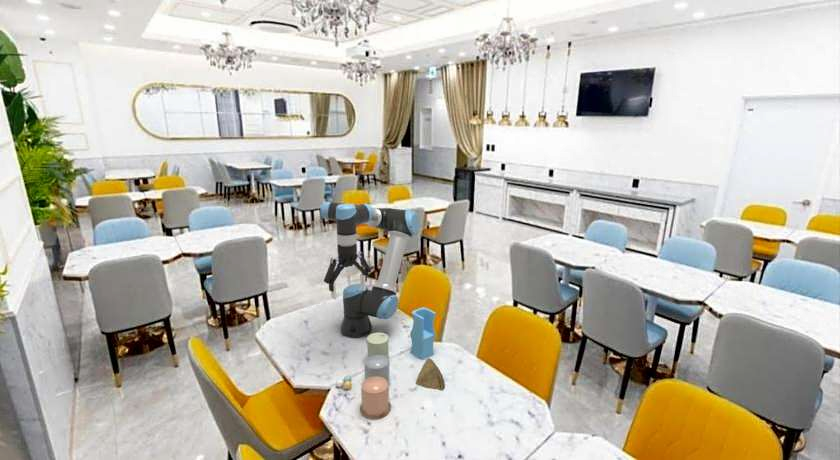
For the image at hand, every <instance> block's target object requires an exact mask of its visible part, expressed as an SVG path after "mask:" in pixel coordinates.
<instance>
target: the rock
mask: <svg viewBox="0 0 840 460" xmlns="http://www.w3.org/2000/svg"><path fill="white" fill-rule="evenodd" d="M425 360H426V361H424V364H423V365H422V367H421V369H420V371H419V373H418V376H417V378H416V381H415V385H419V386H421V387H424V388H428V389H438V390H444V388H445V387H446V383H445V379H444V376H443V374H442V372H441V370H440V368H439V367H438V366H437V365H436V363H435V362H434V360H433V359H432V358H430V357H428V358H426V359H425Z"/></svg>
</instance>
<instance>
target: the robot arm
mask: <svg viewBox="0 0 840 460" xmlns="http://www.w3.org/2000/svg"><path fill="white" fill-rule="evenodd" d="M319 212H320V216H321V217H322V219H325V220H329V221H336V240H337V241H336V242H337V243H336V244H337V246H336V247H337V257H335V258H334V257H331V258H330V262H329V266H328V268H327V272H326V274H325V276H324V279H323V282H324V283H325V284H326V285H328V290H329V291H330V296H331V298H332V299H333V300H337V284H336V283H335V282H336V280H337V279H338V277H339V276H340V274H341V272H342V271H343V270H344V269H345V268H349V267H352V266H355V268H356V269H357V270H358V271H360V274H359V276H360V278H359V279H360V283H354V284H350V285H348V286H345V288H344V289H343V291H342V302H343V304H342V305H343V307H342V308H343V317H342V318H343V319H342V322H341V325H340V333H341V334H342V335H343V336H344V337H347V338H352V339H358V338H362V337H366V336H369V335H370V334H371V332H372V331H373V329H372V328H373V325H372V322H371V320H370V317H374V318H376V319H380V320H382V319H383V320H389V319H391V318H392V317H393V316H394V315H395V314H396V311H397V310H398V307H399V297H398V296H397V291H396V289H395V288H396V287H395V286H396V283H397V280H398V276H399V272H400V269H401V265H402V262H403V258H404V255H405V251H406V247H407V244H408V242H409V241H411V239H412V237H413V236H415V235H417V233H418V231H419V227H420V219H419V217H418V214H417V212H415V211H414V210H409V209H398V208H391V207H382V208H381V207H372V205H370V204H369V203H361V204H354V203H342V202H334V201H325V202H323V203H322V204H321V205H320V211H319ZM362 224H363V225H367V226H368V227H371V228H375V229H378V230H381V231H382V230H383V231H387V232H388V235H389V240H388V244H387V246H386V251H385V254H384V258H383V261H382V265H381V268H380V272H379V275H378V278H377V282H376V284H374V285H373V286H372V288H371V290H370V289H369V287H368V285H367V284H366V283H367V281H368V276H369V274H370V273H371V272H372V269H371V268H370V266H369V264H368V261H367V260H366V258H365V254H364V252H362V251H358V244H357V242H358V237H357V226H360V225H362ZM357 252H358V253H357ZM358 259H359V261H360V262H361V264H362V266H361V265H360V263H359V262H358V261H357V260H358Z"/></svg>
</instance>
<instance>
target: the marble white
mask: <svg viewBox="0 0 840 460" xmlns="http://www.w3.org/2000/svg"><path fill="white" fill-rule="evenodd" d="M344 383H345V382H344V379H342V378H338V379H336V381H335V385H336V387H338V388H341V387H344Z"/></svg>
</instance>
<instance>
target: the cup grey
mask: <svg viewBox="0 0 840 460" xmlns="http://www.w3.org/2000/svg"><path fill="white" fill-rule="evenodd" d="M374 376H379V377H383V378H385V379H386V380H387V382H388V384H389V382H390V360H389V359H388V358H387V357H386V356H384V355H372V356H370V357H368V356H367V358H366V359H365V361H364V380H365V379H367V378H369V377H374Z"/></svg>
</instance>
